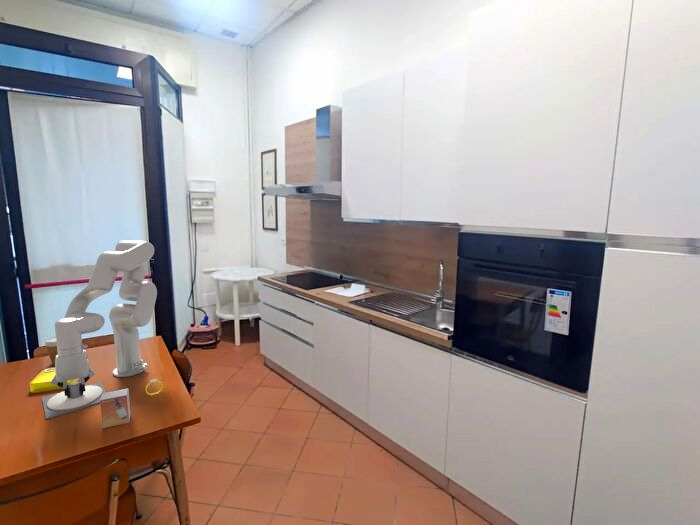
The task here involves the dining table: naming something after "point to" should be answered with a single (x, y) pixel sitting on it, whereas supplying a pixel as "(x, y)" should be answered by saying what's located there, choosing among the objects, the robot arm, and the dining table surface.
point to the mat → (55, 413)
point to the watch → (153, 383)
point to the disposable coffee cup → (52, 349)
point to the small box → (115, 408)
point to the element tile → (46, 381)
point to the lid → (74, 397)
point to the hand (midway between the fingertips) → (75, 394)
